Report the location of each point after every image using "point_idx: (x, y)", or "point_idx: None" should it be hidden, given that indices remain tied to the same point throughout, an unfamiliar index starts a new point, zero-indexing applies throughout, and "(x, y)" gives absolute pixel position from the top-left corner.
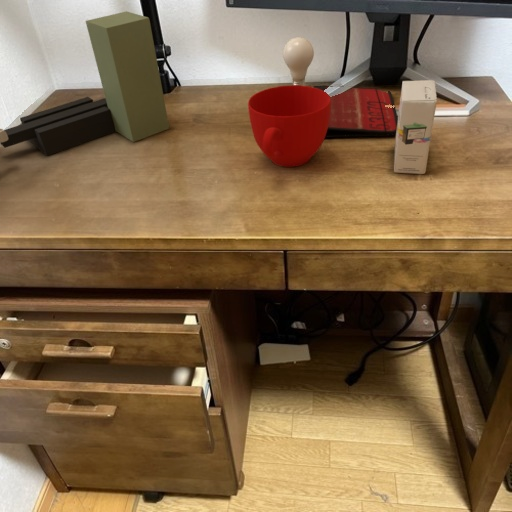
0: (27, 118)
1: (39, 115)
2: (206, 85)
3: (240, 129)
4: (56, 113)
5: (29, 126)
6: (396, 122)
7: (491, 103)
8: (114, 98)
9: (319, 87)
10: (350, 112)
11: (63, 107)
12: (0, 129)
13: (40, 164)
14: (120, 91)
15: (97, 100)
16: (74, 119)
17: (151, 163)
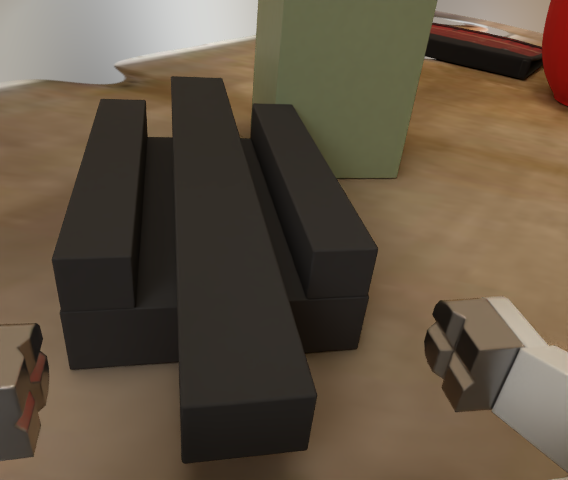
0: (109, 238)
1: (126, 203)
2: (163, 55)
3: (437, 95)
4: (176, 169)
5: (248, 255)
6: (527, 43)
7: (486, 22)
8: (359, 51)
9: None
10: (485, 40)
11: (129, 145)
12: (466, 304)
13: (437, 390)
14: (428, 12)
15: (173, 98)
16: (307, 157)
17: (556, 193)
